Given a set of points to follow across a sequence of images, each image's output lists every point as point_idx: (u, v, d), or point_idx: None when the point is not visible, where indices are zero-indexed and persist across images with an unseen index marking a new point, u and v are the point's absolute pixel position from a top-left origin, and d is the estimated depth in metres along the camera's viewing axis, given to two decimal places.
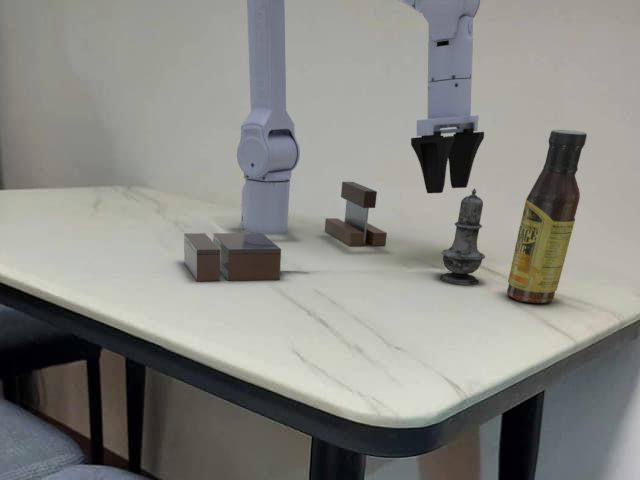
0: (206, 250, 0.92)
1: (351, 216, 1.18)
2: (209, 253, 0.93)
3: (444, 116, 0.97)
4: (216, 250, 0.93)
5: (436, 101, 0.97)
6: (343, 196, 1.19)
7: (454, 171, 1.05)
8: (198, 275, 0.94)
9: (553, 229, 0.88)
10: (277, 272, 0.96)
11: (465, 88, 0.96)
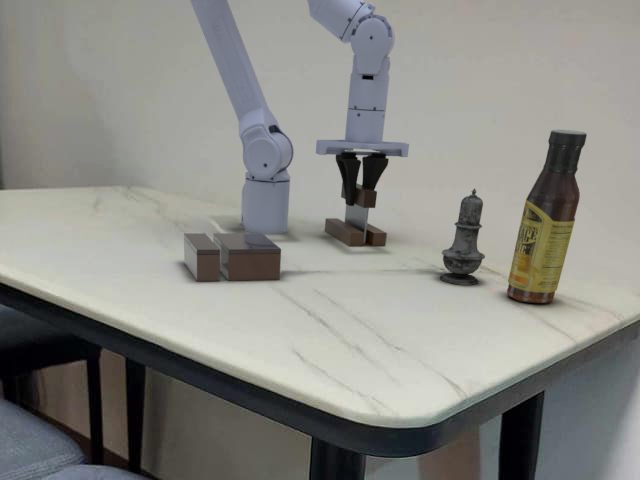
0: (206, 250, 0.92)
1: (351, 216, 1.18)
2: (209, 253, 0.93)
3: (348, 140, 1.10)
4: (216, 250, 0.93)
5: (346, 125, 1.10)
6: (343, 196, 1.19)
7: None
8: (198, 275, 0.94)
9: (553, 229, 0.88)
10: (277, 272, 0.96)
11: (367, 119, 1.08)
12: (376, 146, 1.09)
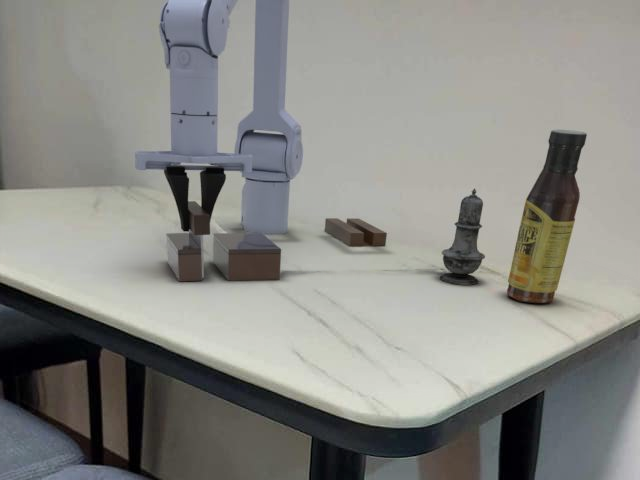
0: (187, 250, 0.92)
1: None
2: (191, 253, 0.92)
3: (173, 152, 0.90)
4: (197, 250, 0.92)
5: (171, 134, 0.90)
6: None
7: None
8: (180, 275, 0.93)
9: (553, 229, 0.88)
10: (277, 272, 0.96)
11: (191, 126, 0.87)
12: (204, 159, 0.88)
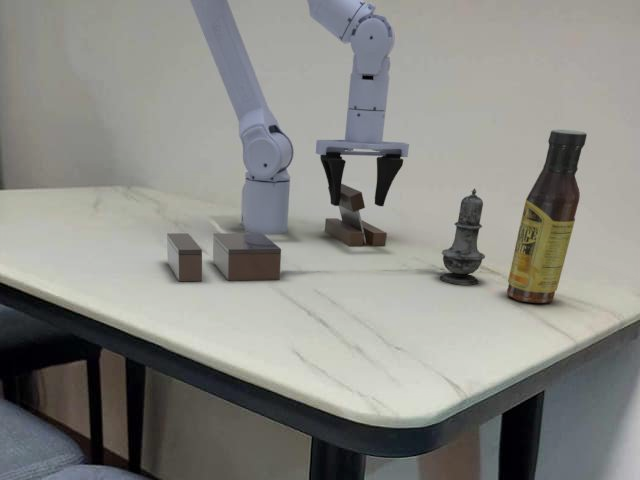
0: (188, 250, 0.92)
1: (346, 217, 1.18)
2: (191, 253, 0.92)
3: (348, 140, 1.10)
4: (198, 250, 0.92)
5: (346, 126, 1.10)
6: None
7: (377, 189, 1.17)
8: (180, 275, 0.93)
9: (553, 229, 0.88)
10: (277, 272, 0.96)
11: (367, 119, 1.08)
12: (376, 146, 1.09)
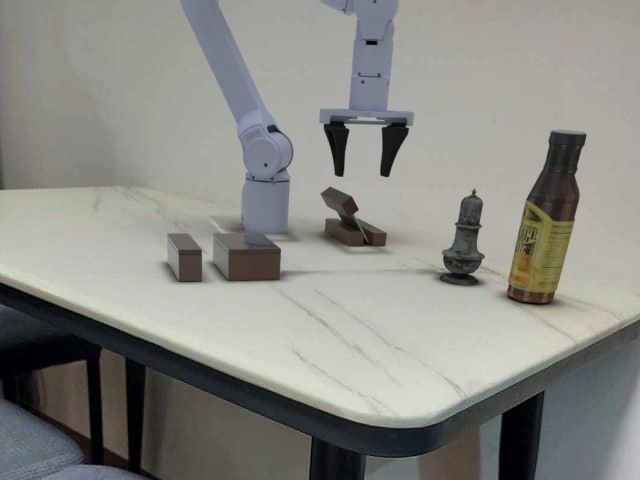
0: (188, 250, 0.92)
1: (345, 219, 1.18)
2: (191, 253, 0.92)
3: (352, 108, 1.08)
4: (198, 250, 0.92)
5: (350, 94, 1.08)
6: (328, 206, 1.19)
7: (383, 160, 1.14)
8: (180, 275, 0.93)
9: (553, 229, 0.88)
10: (277, 272, 0.96)
11: (371, 85, 1.05)
12: (381, 114, 1.06)
